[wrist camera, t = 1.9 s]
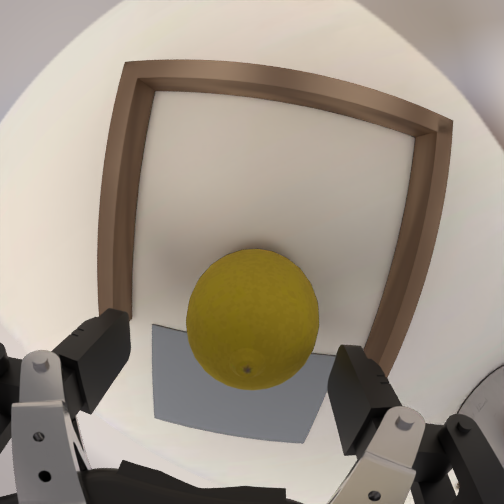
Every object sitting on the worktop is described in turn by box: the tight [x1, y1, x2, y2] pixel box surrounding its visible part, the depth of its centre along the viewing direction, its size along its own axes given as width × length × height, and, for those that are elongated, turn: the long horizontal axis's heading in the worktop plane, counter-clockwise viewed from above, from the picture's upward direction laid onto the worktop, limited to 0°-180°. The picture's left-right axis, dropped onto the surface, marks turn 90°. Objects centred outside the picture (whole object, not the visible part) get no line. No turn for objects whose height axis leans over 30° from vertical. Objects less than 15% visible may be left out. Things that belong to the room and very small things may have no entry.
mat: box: [152, 324, 336, 443], centre depth 18 cm, size 12×9×1 cm
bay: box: [97, 60, 453, 377], centre depth 14 cm, size 17×15×2 cm
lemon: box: [186, 249, 319, 390], centre depth 12 cm, size 6×6×8 cm
